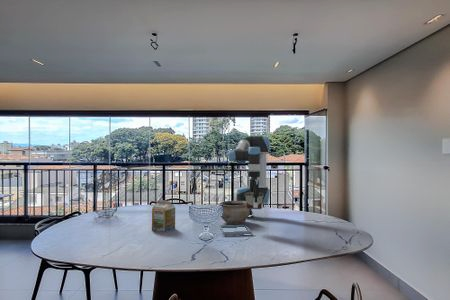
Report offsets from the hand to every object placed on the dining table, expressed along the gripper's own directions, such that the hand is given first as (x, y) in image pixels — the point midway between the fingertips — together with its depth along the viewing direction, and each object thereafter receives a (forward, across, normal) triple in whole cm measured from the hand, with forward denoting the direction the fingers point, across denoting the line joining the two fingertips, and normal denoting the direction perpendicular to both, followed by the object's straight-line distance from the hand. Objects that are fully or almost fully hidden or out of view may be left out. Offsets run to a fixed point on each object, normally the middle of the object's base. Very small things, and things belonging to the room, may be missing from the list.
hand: (253, 206), depth 187 cm
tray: (+16, 0, -12) cm, 20 cm away
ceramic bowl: (+16, -24, -8) cm, 30 cm away
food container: (+1, 0, 0) cm, 1 cm away
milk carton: (+16, -13, -57) cm, 61 cm away
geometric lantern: (+16, -62, -103) cm, 121 cm away
